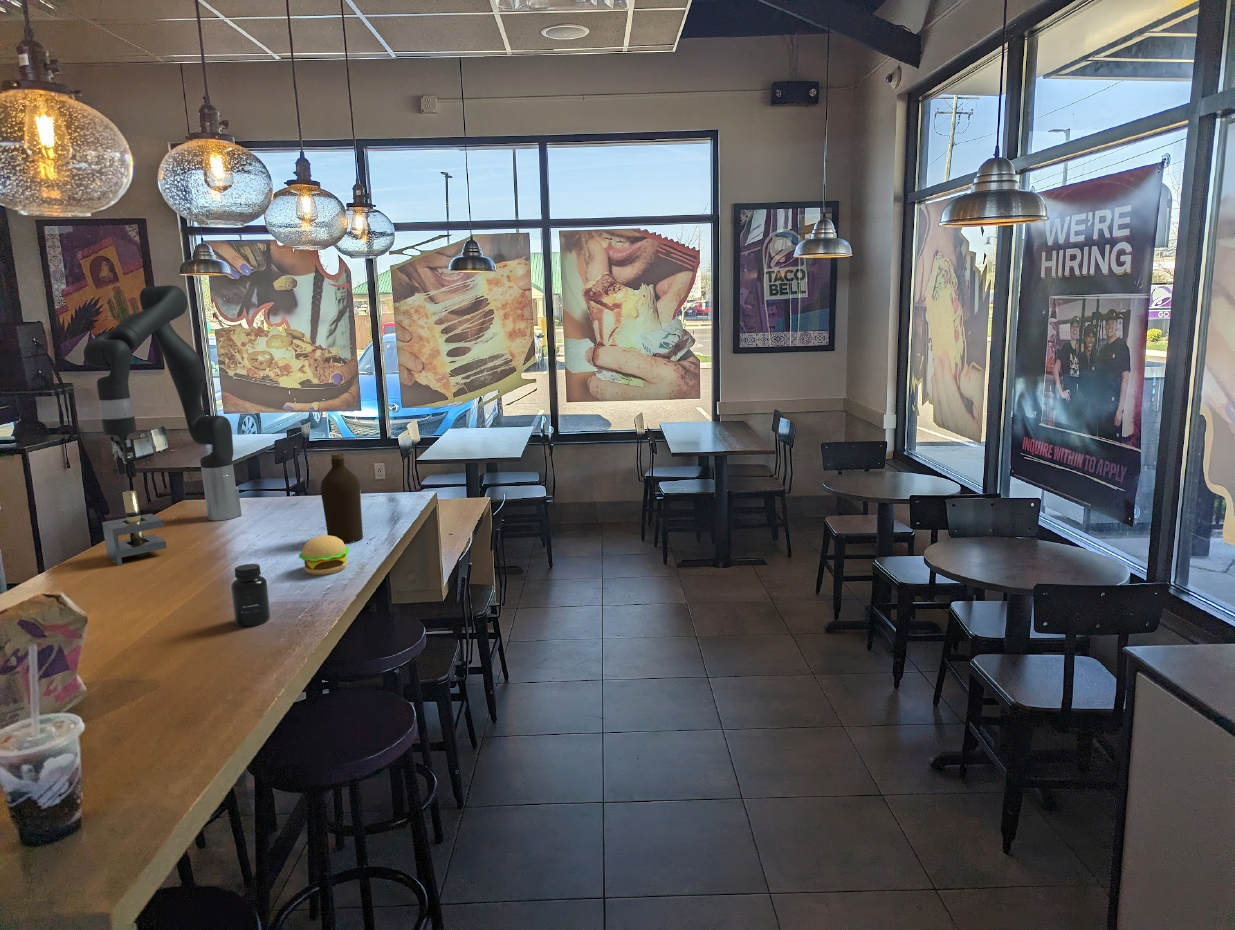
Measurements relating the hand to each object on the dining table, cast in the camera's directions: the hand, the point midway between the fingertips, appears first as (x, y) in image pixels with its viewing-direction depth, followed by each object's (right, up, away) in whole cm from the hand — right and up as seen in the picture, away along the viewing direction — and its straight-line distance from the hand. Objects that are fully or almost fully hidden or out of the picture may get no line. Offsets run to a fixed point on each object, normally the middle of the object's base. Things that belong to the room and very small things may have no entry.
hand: (127, 475), depth 216 cm
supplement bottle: (+55, -30, -47) cm, 78 cm away
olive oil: (+55, -19, +13) cm, 59 cm away
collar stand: (+1, -22, +4) cm, 23 cm away
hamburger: (+59, -24, -13) cm, 65 cm away
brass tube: (+1, -22, +4) cm, 23 cm away
